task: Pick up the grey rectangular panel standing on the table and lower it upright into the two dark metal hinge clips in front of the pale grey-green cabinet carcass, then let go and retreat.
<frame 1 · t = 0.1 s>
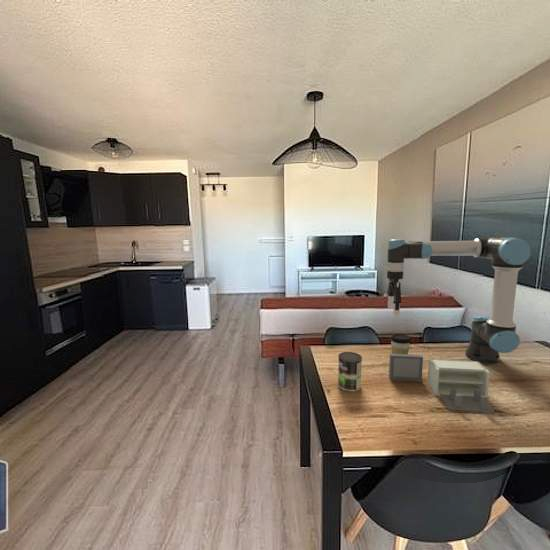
hand: (393, 312, 154), 28 cm above the table, fingers open, 13 cm apart
cabinet: (455, 391, 132), on the table
carton: (442, 375, 147), on the table
grey rectangular panel: (404, 379, 143), on the table
coffee cup: (399, 364, 158), on the table
coffee can: (349, 385, 138), on the table
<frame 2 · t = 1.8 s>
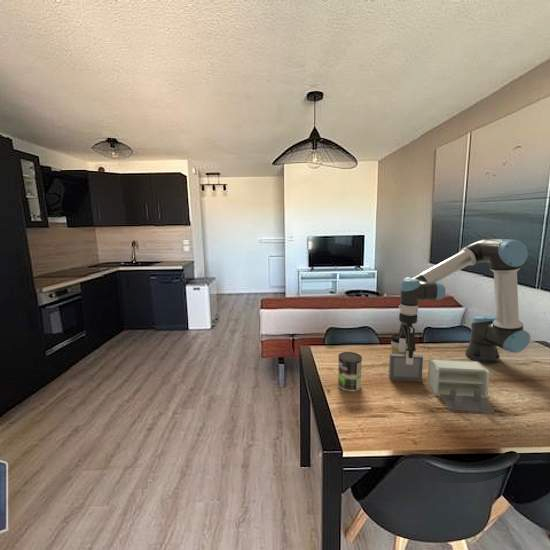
hand: (405, 357, 141), 11 cm above the table, fingers open, 13 cm apart
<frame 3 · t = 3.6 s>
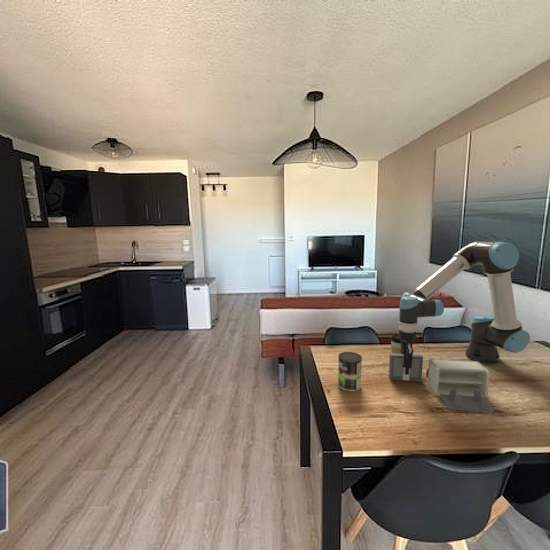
hand: (404, 377, 143), 1 cm above the table, fingers closed on grey rectangular panel, 3 cm apart
grey rectangular panel: (404, 379, 143), on the table, touching gripper
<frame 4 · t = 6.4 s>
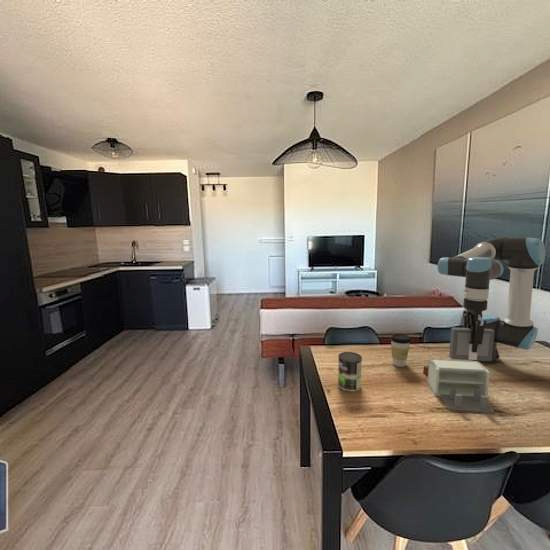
hand: (470, 357, 118), 21 cm above the table, fingers closed on grey rectangular panel, 3 cm apart
grey rectangular panel: (469, 358, 118), point 20 cm above the table, touching gripper
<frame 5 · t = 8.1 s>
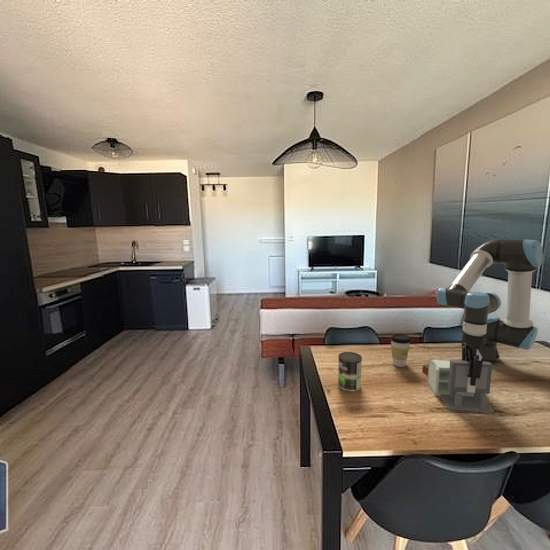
hand: (468, 389, 120), 7 cm above the table, fingers closed on grey rectangular panel, 3 cm apart
grey rectangular panel: (468, 390, 120), point 7 cm above the table, touching gripper
when the fingers open (2 cm above the table, at t = 9.2 s): grey rectangular panel stays where it is, resting on cabinet.
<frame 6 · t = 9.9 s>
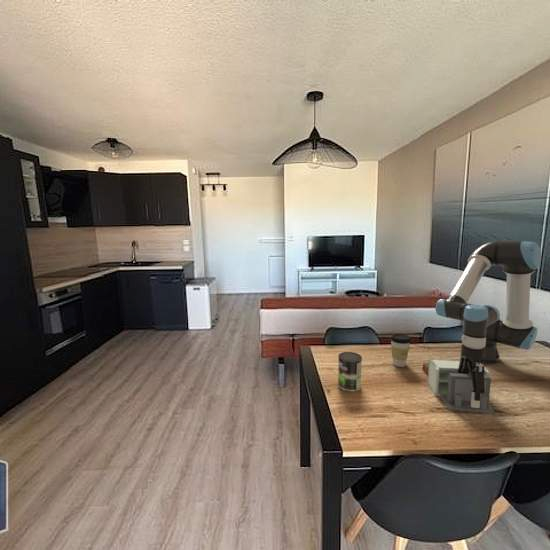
hand: (468, 399, 120), 3 cm above the table, fingers open, 10 cm apart
grey rectangular panel: (467, 403, 121), point 1 cm above the table, touching cabinet
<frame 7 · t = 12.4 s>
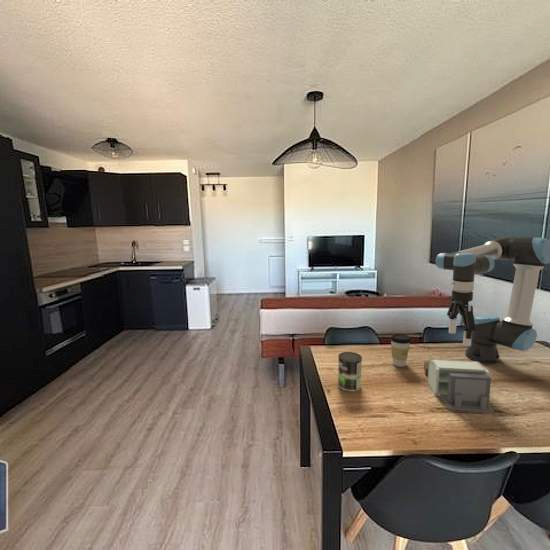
hand: (459, 339, 130), 23 cm above the table, fingers open, 13 cm apart
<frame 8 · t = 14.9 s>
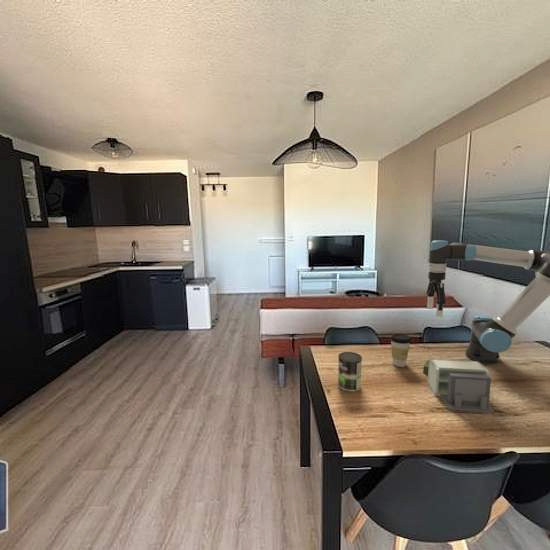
hand: (434, 312, 156), 27 cm above the table, fingers open, 13 cm apart
at the end: grey rectangular panel 0.1 cm from the target spot on the cabinet, point 1.0 cm above the cabinet's base; grey rectangular panel tilted 0°; the gripper is holding nothing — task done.
